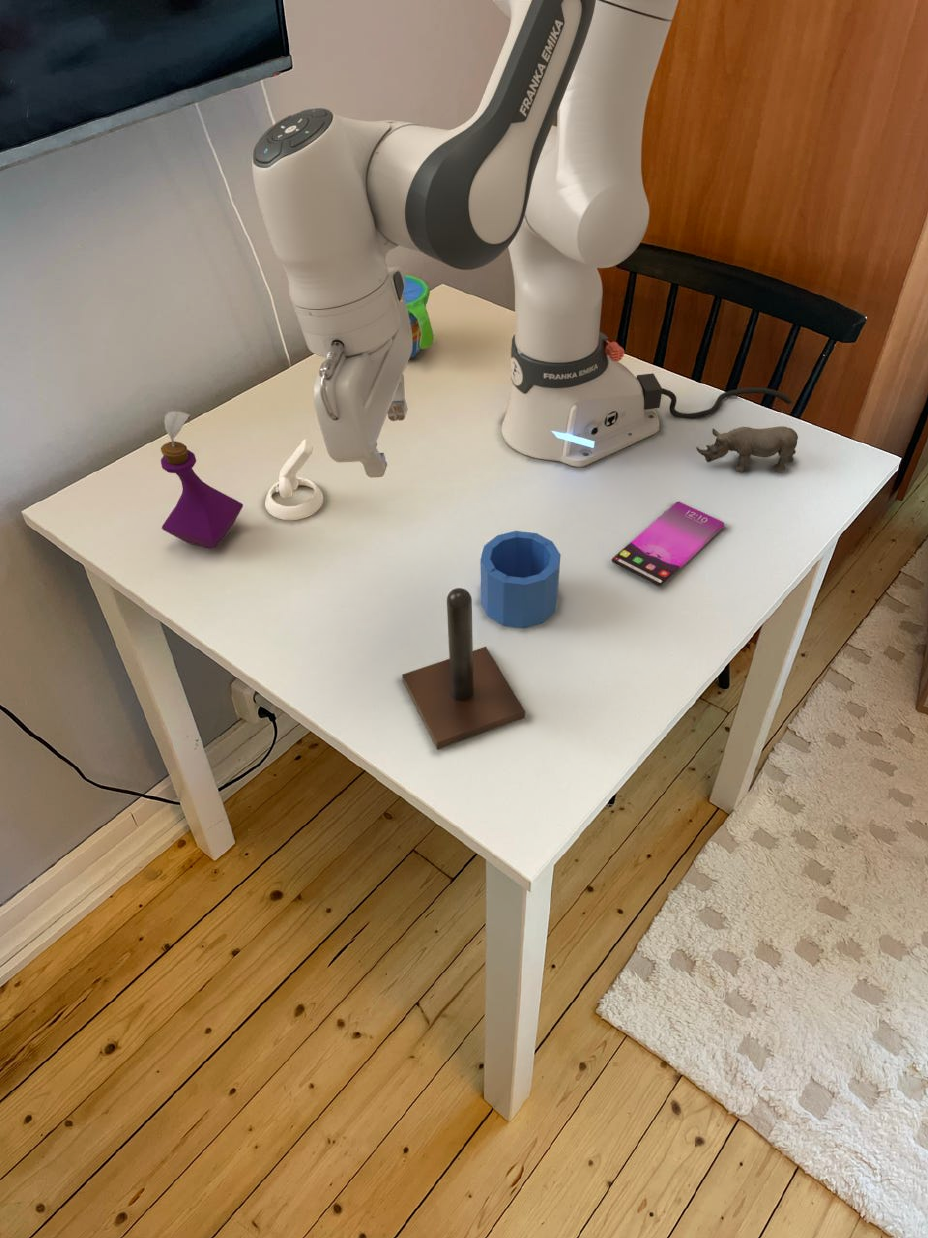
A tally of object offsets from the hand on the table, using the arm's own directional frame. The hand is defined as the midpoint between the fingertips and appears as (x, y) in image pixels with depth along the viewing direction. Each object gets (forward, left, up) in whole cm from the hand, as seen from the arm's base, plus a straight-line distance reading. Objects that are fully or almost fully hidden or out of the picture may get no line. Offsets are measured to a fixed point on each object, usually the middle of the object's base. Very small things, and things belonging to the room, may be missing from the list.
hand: (389, 443), depth 95 cm
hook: (+6, -25, -24) cm, 35 cm away
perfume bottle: (+18, -23, -24) cm, 38 cm away
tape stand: (-1, +15, -24) cm, 28 cm away
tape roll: (-13, +4, -24) cm, 27 cm away
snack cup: (-20, -55, -24) cm, 63 cm away
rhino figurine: (-52, -7, -24) cm, 58 cm away
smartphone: (-34, +3, -24) cm, 42 cm away
